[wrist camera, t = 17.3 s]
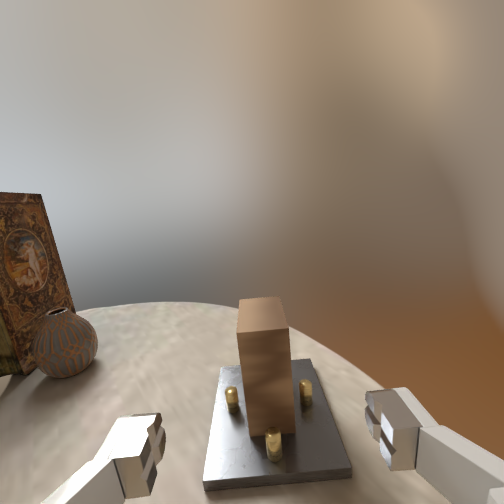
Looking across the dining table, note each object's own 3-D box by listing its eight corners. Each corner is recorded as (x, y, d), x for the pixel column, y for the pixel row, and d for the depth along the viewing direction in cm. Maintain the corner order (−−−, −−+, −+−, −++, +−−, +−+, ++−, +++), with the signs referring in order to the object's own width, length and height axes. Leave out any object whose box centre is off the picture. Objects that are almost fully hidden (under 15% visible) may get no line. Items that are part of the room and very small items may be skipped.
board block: (249, 436, 20) (236, 333, 18) (249, 383, 26) (239, 299, 24) (295, 432, 20) (288, 328, 18) (285, 379, 26) (279, 295, 24)
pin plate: (204, 491, 18) (198, 460, 17) (222, 373, 29) (219, 352, 29) (351, 477, 18) (351, 446, 17) (310, 365, 29) (309, 344, 29)
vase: (73, 388, 29) (52, 325, 27) (28, 385, 31) (6, 325, 29) (113, 352, 36) (99, 299, 34) (75, 351, 37) (59, 300, 35)
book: (51, 326, 47) (9, 197, 41) (82, 321, 48) (45, 194, 42) (-23, 389, 31) (-108, 194, 25) (25, 379, 32) (-46, 189, 26)
